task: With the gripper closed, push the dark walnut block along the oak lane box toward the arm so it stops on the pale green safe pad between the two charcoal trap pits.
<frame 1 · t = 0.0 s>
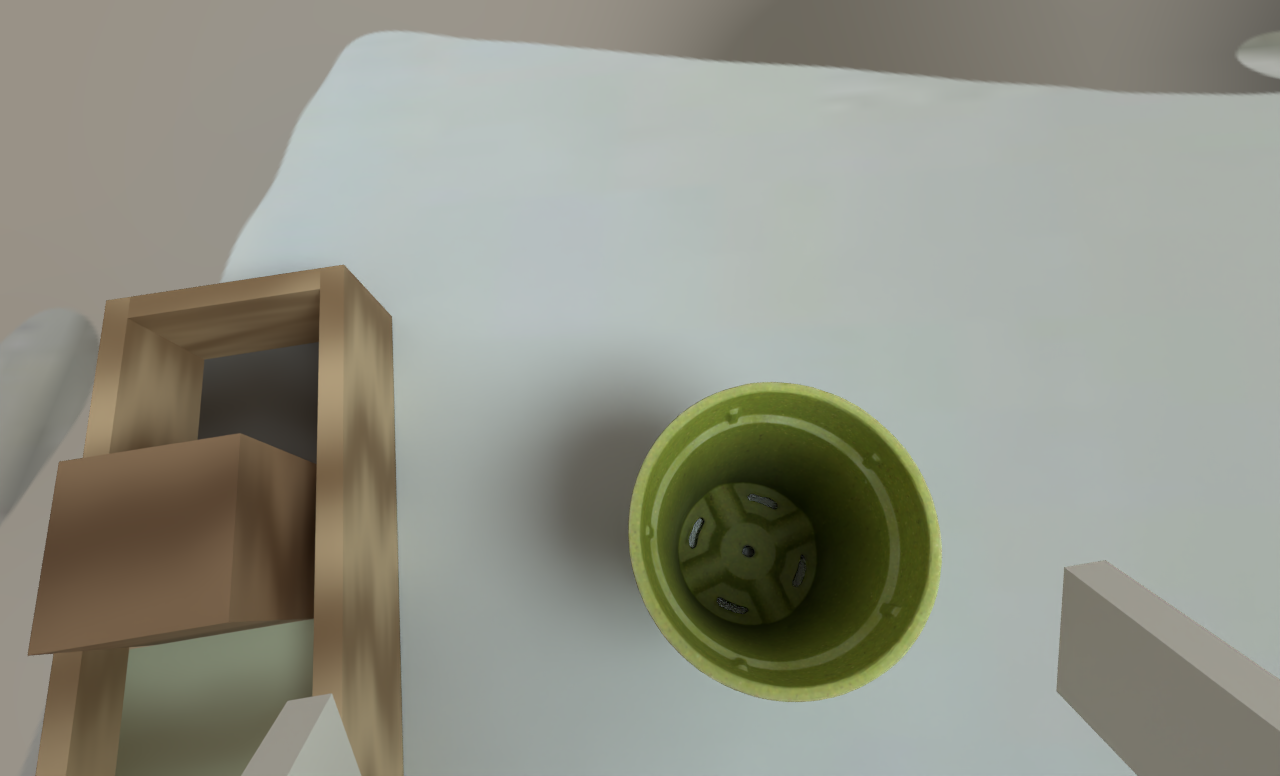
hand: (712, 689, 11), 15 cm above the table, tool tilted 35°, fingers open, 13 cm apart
lane box: (280, 653, 26), on the table
plant pot: (743, 551, 27), on the table
walnut block: (240, 550, 24), point 3 cm above the table, touching lane box
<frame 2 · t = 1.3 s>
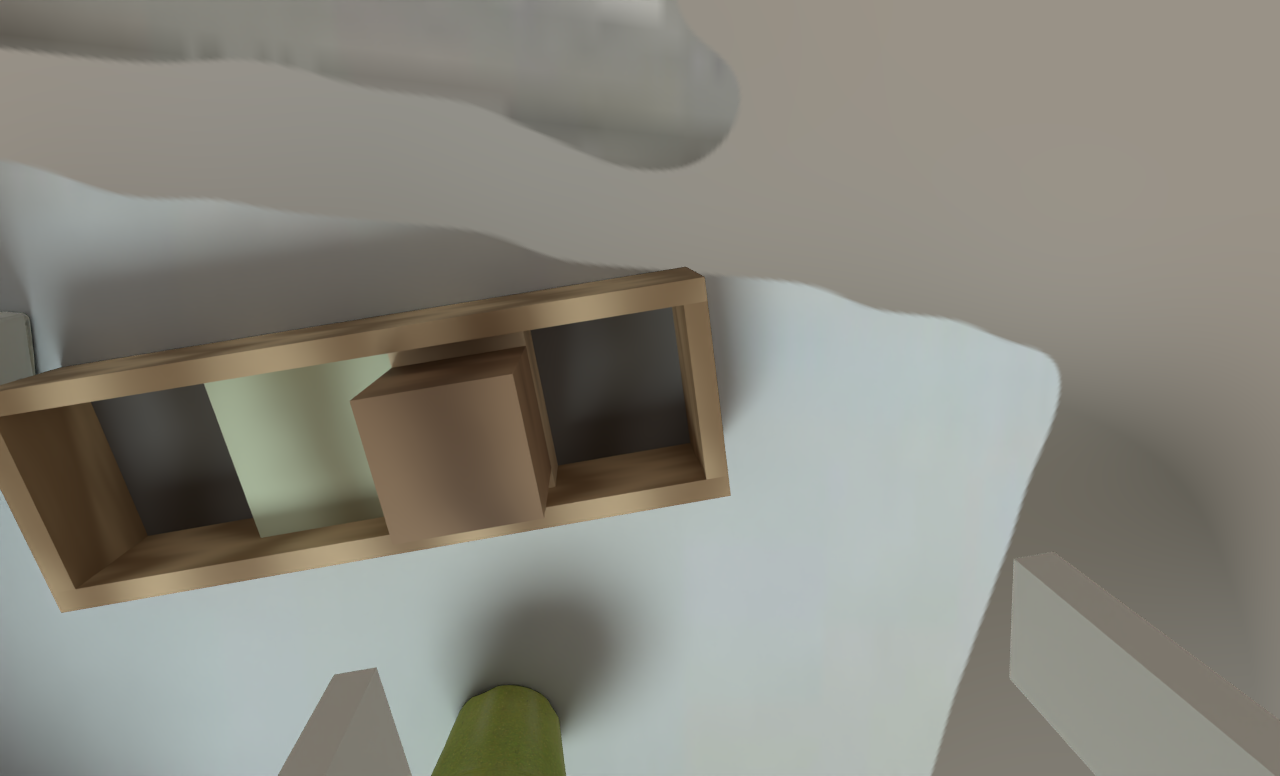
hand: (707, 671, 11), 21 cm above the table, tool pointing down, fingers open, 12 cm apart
lane box: (405, 413, 31), on the table
plant pot: (509, 721, 37), on the table
walnut block: (474, 419, 28), point 3 cm above the table, touching lane box
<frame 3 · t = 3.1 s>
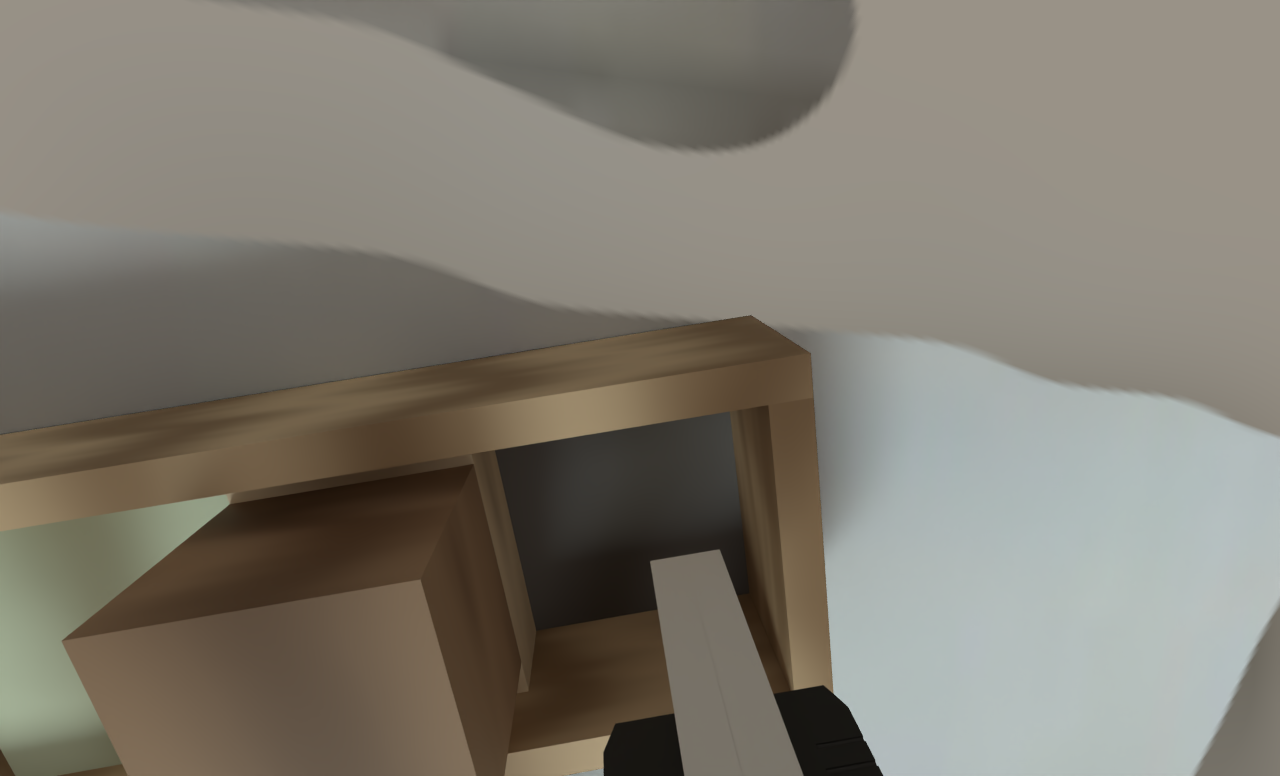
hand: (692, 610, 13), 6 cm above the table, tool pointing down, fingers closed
lane box: (284, 552, 19), on the table
walnut block: (384, 587, 16), point 3 cm above the table, touching lane box
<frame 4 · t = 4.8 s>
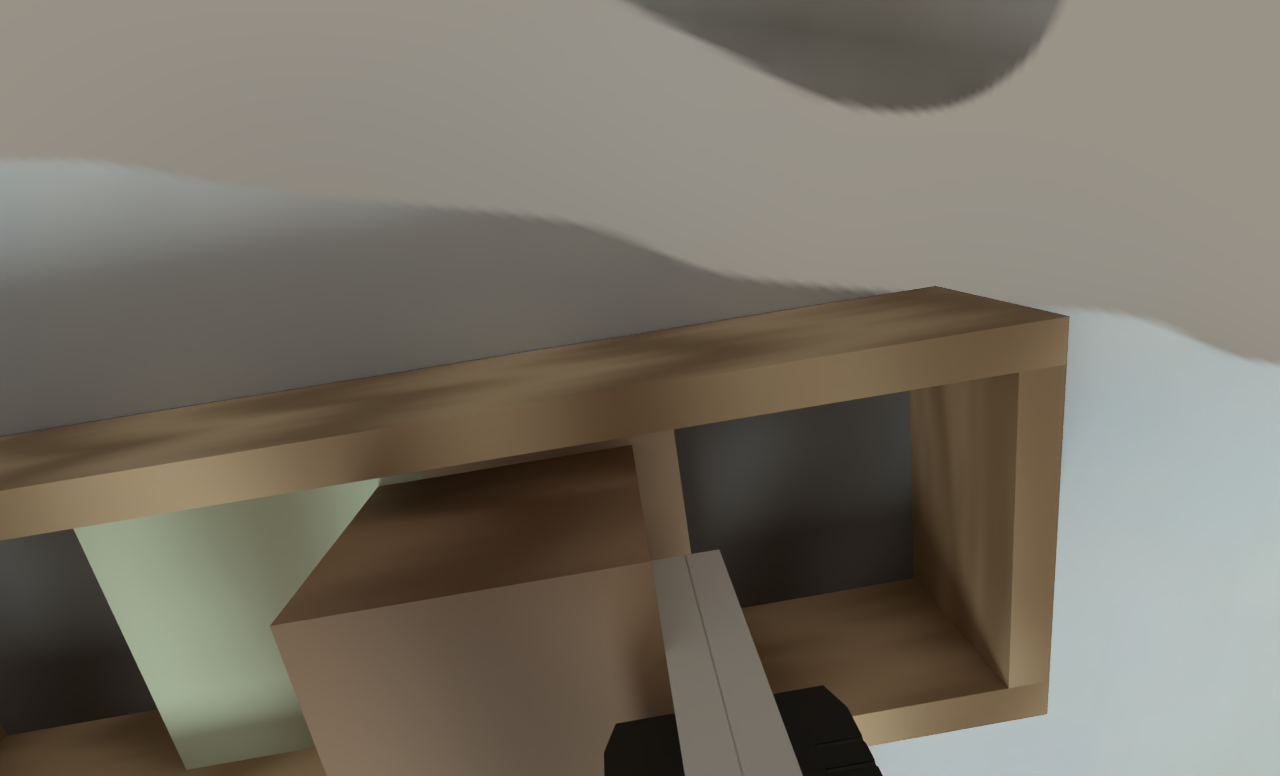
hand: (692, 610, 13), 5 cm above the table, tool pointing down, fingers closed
lane box: (441, 534, 18), on the table
walnut block: (530, 575, 15), point 3 cm above the table
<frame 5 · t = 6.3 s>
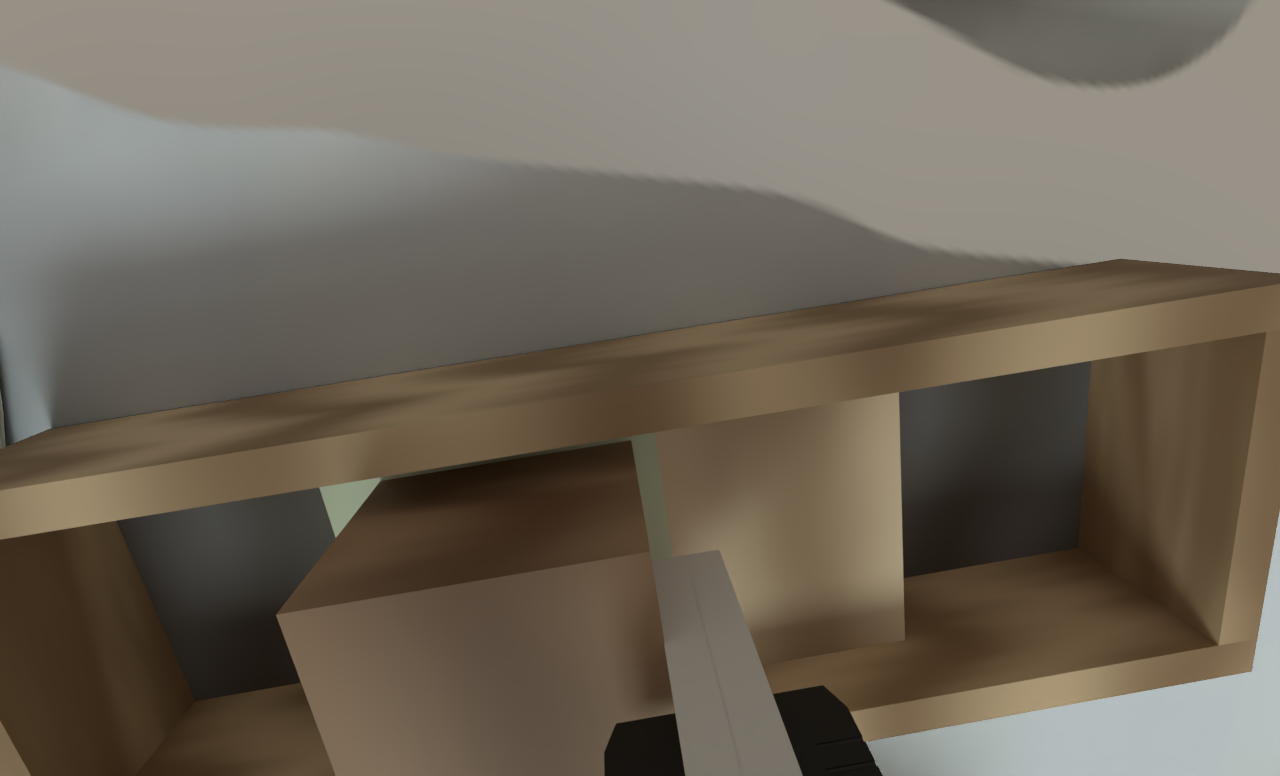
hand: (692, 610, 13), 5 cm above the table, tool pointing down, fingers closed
lane box: (626, 502, 18), on the table
walnut block: (531, 569, 15), point 3 cm above the table, touching gripper, lane box
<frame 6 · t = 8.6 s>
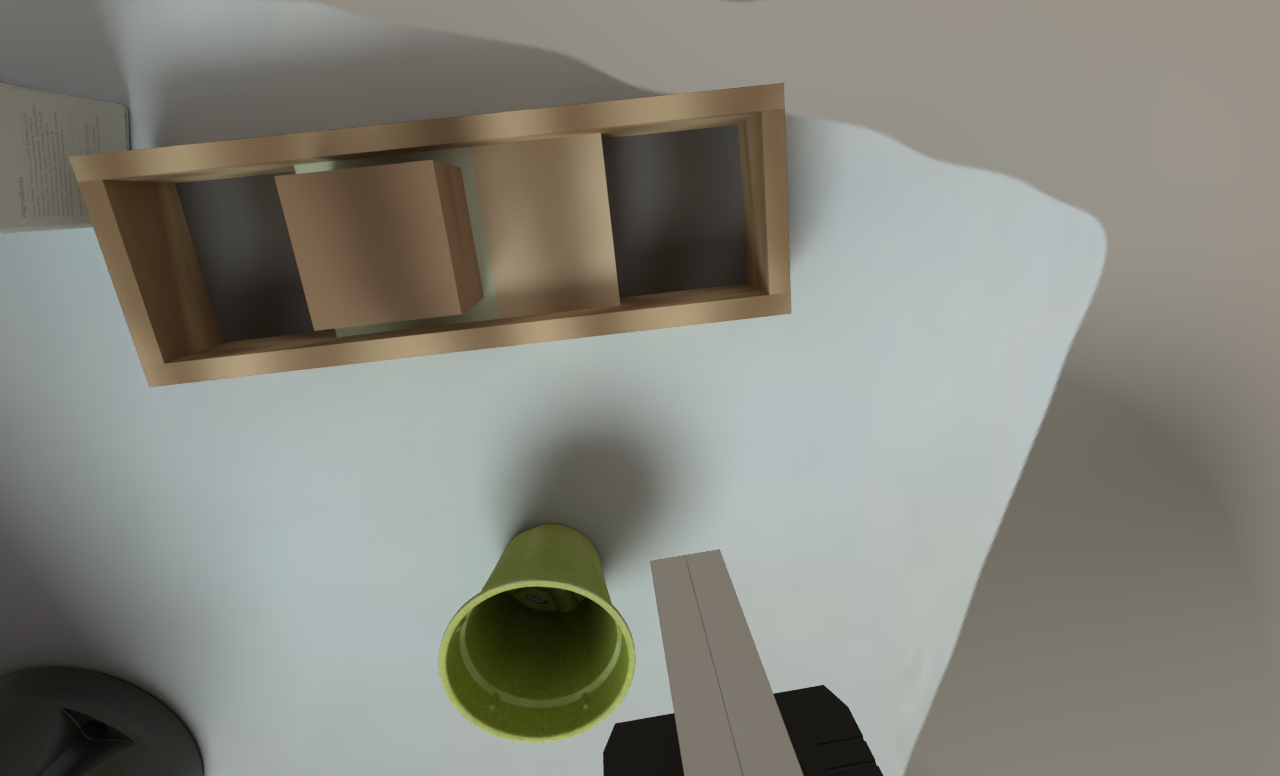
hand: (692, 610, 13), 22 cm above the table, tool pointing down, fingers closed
lane box: (476, 235, 32), on the table
skincare box: (45, 154, 30), on the table
plant pot: (551, 563, 38), on the table
walnut block: (409, 241, 29), point 3 cm above the table, touching lane box
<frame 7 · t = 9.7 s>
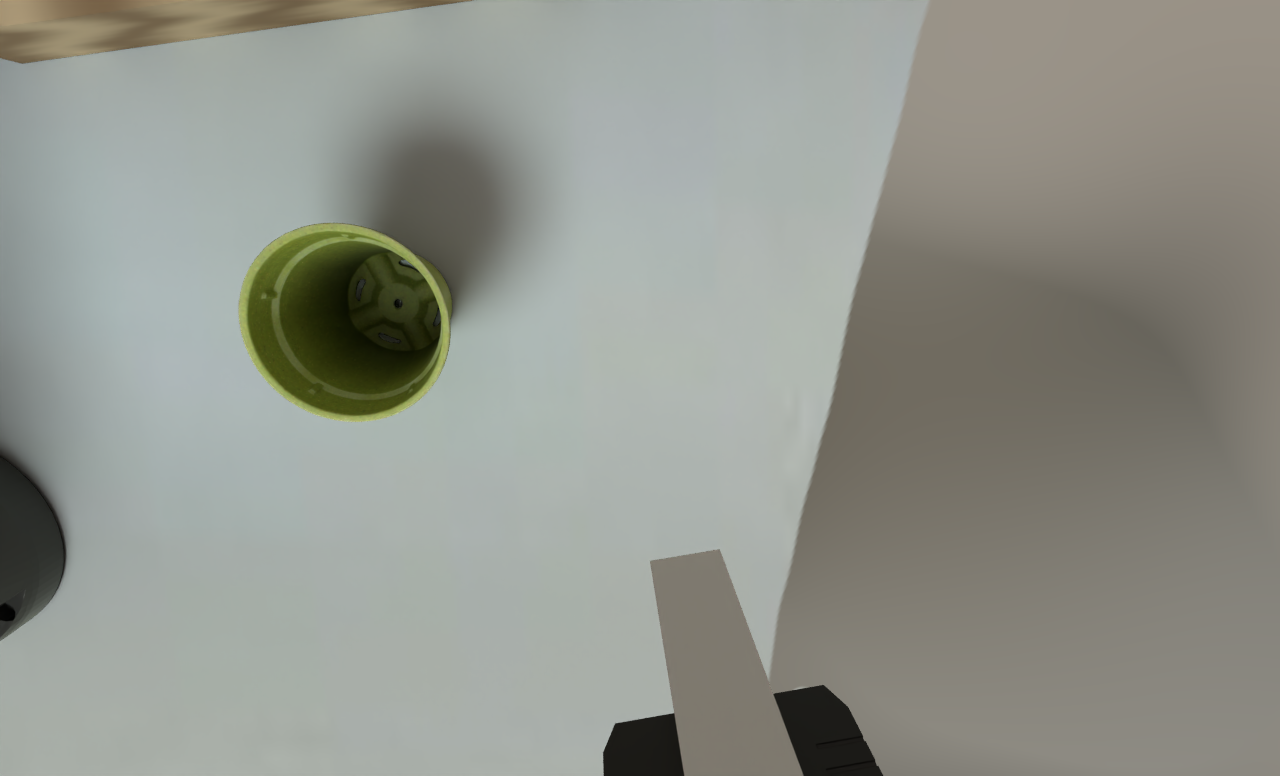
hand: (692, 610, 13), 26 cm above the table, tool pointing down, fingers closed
plant pot: (402, 300, 37), on the table
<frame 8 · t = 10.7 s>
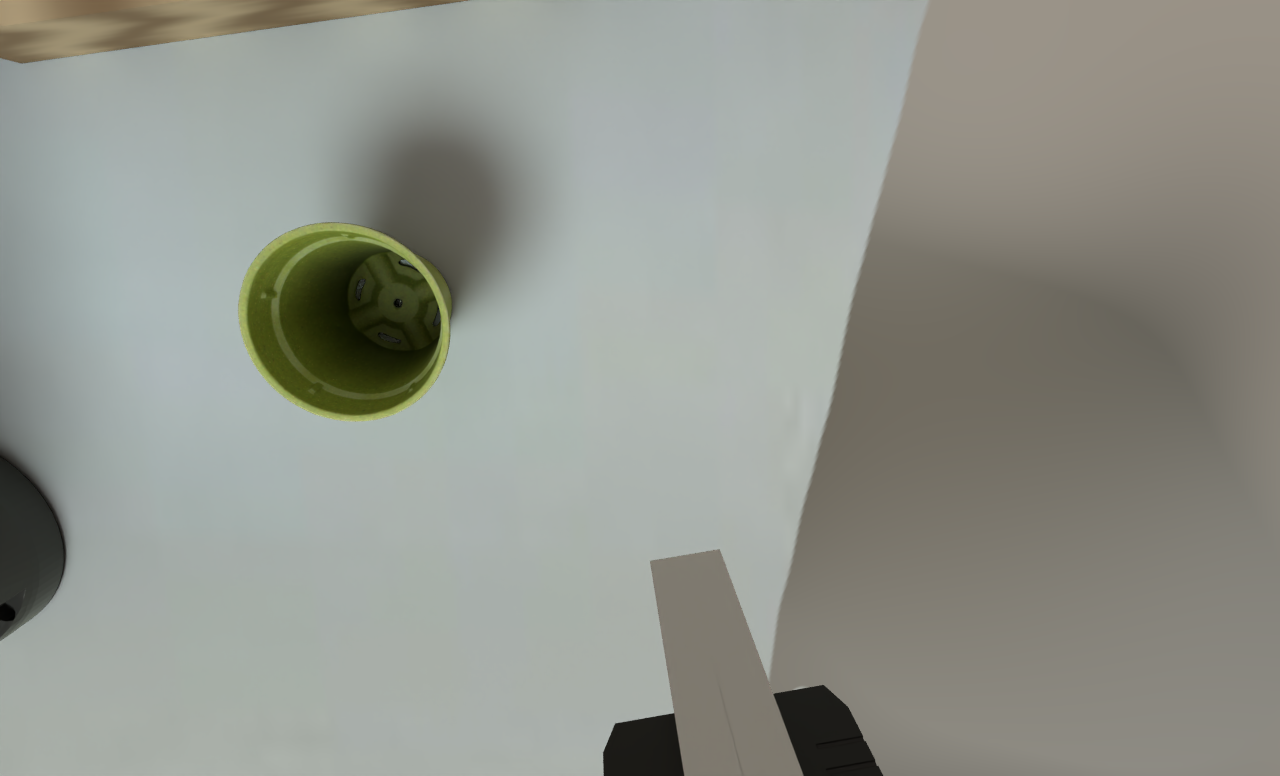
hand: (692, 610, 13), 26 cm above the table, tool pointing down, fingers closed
plant pot: (402, 299, 37), on the table
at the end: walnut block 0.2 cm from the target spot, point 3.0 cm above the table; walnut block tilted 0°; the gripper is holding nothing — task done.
